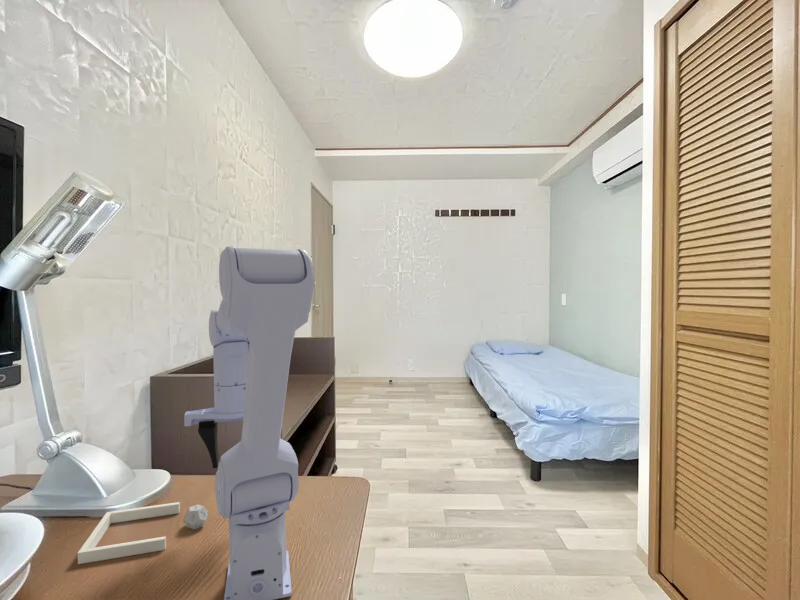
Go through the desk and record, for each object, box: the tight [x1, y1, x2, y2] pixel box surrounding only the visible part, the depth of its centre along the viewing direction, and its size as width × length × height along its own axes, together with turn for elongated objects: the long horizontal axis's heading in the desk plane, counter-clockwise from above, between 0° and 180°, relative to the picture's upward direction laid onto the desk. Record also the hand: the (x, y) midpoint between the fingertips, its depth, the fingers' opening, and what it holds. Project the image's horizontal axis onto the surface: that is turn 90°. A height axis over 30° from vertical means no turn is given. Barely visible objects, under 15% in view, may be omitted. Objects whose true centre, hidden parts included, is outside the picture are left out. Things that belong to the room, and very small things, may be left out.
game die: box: [183, 504, 209, 530], centre depth 71 cm, size 4×4×3 cm
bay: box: [77, 501, 181, 565], centre depth 68 cm, size 12×11×2 cm
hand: (234, 463), depth 73 cm, fingers open, 5 cm apart
